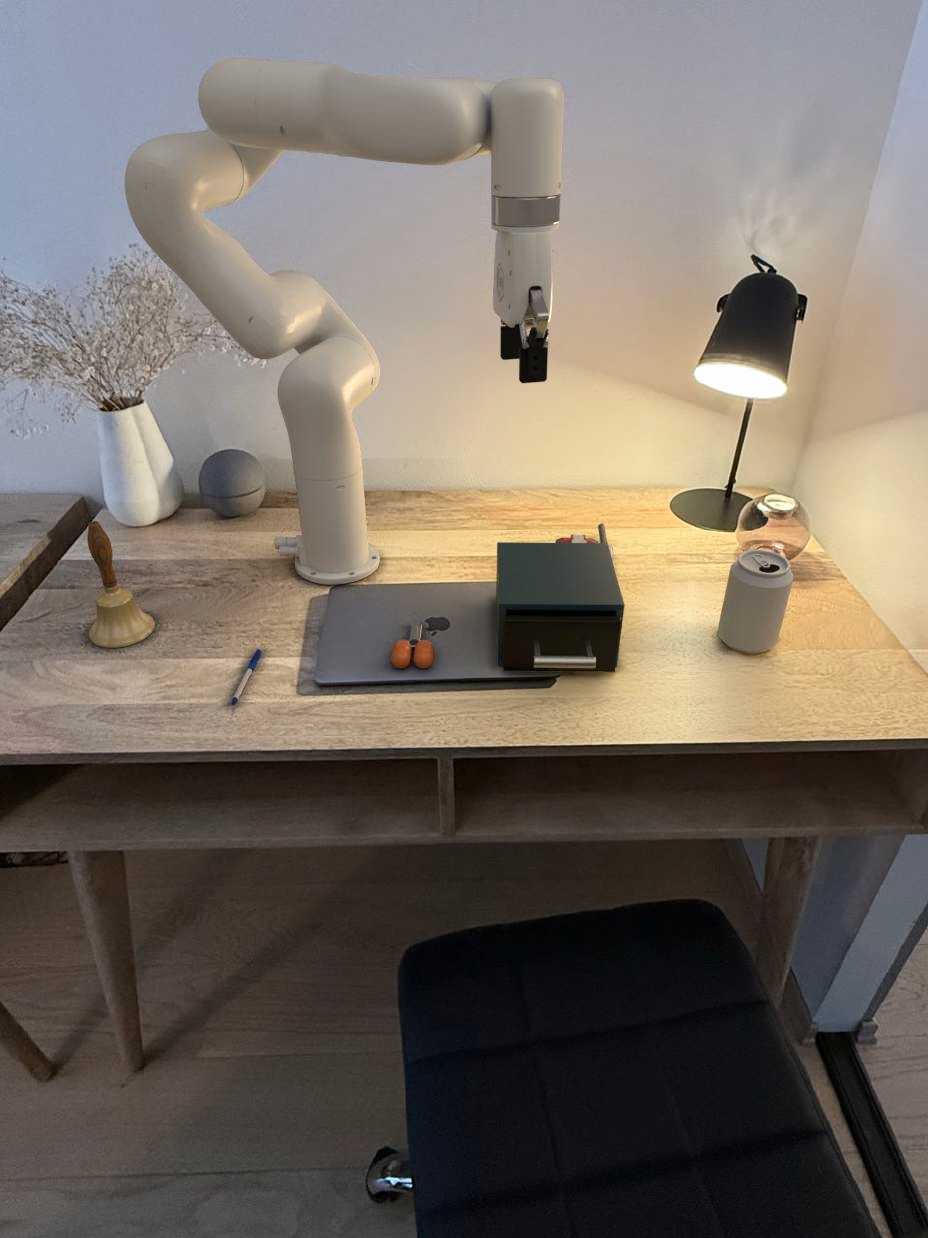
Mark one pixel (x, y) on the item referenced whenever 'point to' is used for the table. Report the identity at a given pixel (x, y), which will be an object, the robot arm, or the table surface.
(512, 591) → the drawer cabinet
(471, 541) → the table surface
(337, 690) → the table surface
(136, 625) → the hand bell
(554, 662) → the open black drawer
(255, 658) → the ballpoint pen
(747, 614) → the can
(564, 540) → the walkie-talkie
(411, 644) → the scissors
